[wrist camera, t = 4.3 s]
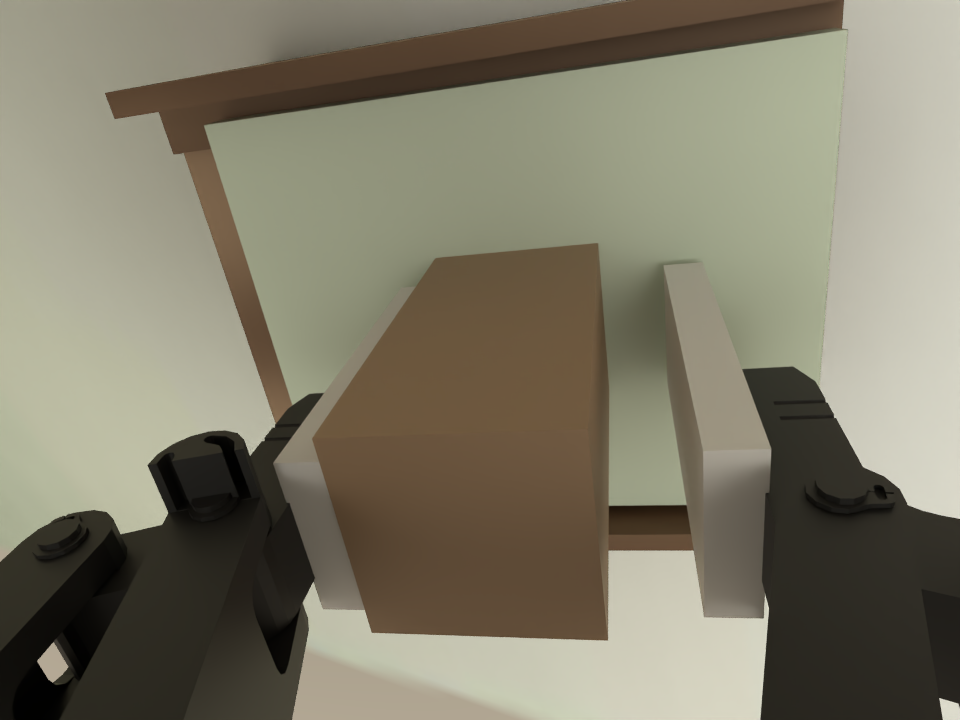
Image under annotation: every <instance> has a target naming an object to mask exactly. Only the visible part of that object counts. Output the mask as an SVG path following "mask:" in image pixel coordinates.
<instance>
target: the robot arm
mask: <svg viewBox="0 0 960 720" xmlns="http://www.w3.org/2000/svg"><path fill="white" fill-rule="evenodd" d="M663 266H664V296H665V327H666V358H667V384H668V390H669V396H670V403H671V409H672V415H673V422H674V428H675V434H676V441H677V447H678V453H679V460H680V466H681V472H682V479H683V485H684V491H685V498H686V504H687V510H688V517H689V523H690V529H691V536H692V542H693V548H694V555H695V561H696V567H697V574H698V580H699V586H700V593H701V599H702V605H703V612H704V617H722V618H764V598H765V595H766V598H767V602H768V606H769V617H768V630H767V643H766V656H765V669H764V682H763V694H762V707H761V720H943V719H942V713H941V707H940V701H939V698H942V699H945V700H948V701H952V702H955V703H959V707H960V519H957V518H951V517H946V516H941V515H937V514H933V513H929V512H925V511H921V510H919V509H916V508H913V507H911V506H908V505H907V502H906V500H905V499H904V497H903V495H902V493H901V491H900V489H899V488H898V487H896V486H895V485H894V484H893V483H891V482H890V481H889V480H888V479H886V478H885V477H884V476H882V475H879V474H877V473H875V472H872V471H870V470H868V469H865V468H863V466H862V465H861V463H860V461H859V459H858V457H857V456H856V454H855V452H854V450H853V448H852V447H851V445H850V443H849V441H848V439H847V437H846V436H845V434H844V432H843V430H842V428H841V427H840V425H839V423H838V421H837V419H836V418H834V414H833V412H832V410H831V408H830V407H829V405H828V403H826V402H825V398H824V396H823V394H822V392H821V390H820V389H819V387H818V385H817V383H816V381H814V380H813V379H811V378H810V377H808V376H807V375H805V374H804V373H802V372H801V371H799V370H798V369H796V368H795V367H793V366H790V367H771V368H752V369H742V368H741V365H740V362H739V360H738V357H737V354H736V352H735V349H734V346H733V343H732V341H731V338H730V335H729V333H728V330H727V327H726V324H725V322H724V319H723V316H722V314H721V311H720V308H719V305H718V303H717V300H716V297H715V295H714V292H713V289H712V286H711V284H710V281H709V278H708V276H707V273H706V270H705V267H704V265H703V262H697V263H685V264H673V265H663ZM415 287H416V286H415ZM415 287H404V288H400V290H399V291H398V293H397V294H396V295H395V297H394V298H393V299H392V301H391V302H390V304H389V305H388V306H387V308H386V309H385V310H384V312H383V313H382V315H381V316H380V317H379V319H378V320H377V321H376V323H375V324H374V325H373V327H372V328H371V330H370V331H369V332H368V334H367V335H366V336H365V338H364V339H363V341H362V342H361V343H360V345H359V346H358V347H357V349H356V350H355V352H354V353H353V354H352V356H351V357H350V358H349V360H348V361H347V363H346V364H345V365H344V367H343V368H342V369H341V371H340V372H339V373H338V375H337V376H336V378H335V379H334V380H333V382H332V383H331V384H330V386H329V387H328V389H327V390H326V391H325V393H312V394H308V395H307V396H305V397H304V398H302V399H301V400H299V401H298V402H297V403H295V404H294V405H292V406H291V407H289V408H288V409H287V410H286V412H285V413H284V414H283V415H282V417H281V418H280V419H279V420H278V422H277V423H276V424H275V428H272V429H271V431H270V432H269V433H268V434H267V436H266V437H265V441H262V442H261V443H260V444H259V446H258V447H257V448H256V449H255V451H254V452H253V453H252V455H251V456H250V455H249V453H248V450H247V447H246V444H245V441H244V439H243V438H242V437H241V436H240V435H239V434H238V433H234V432H229V431H212V432H206V433H202V434H198V435H194V436H191V437H188V438H186V439H184V440H181V441H179V442H177V443H175V444H173V445H171V446H169V447H168V448H166V449H165V450H163V451H162V452H160V453H159V454H157V456H156V457H155V458H154V459H153V460H152V461H151V462H150V463H149V464H148V467H149V469H150V472H151V474H152V476H153V479H154V481H155V483H156V485H157V488H158V490H159V492H160V494H161V497H162V499H163V501H164V503H165V506H166V508H167V510H168V515H167V517H166V519H165V521H164V523H163V525H160V526H156V527H151V528H147V529H143V530H138V531H134V532H130V533H125V534H120V532H119V530H118V528H117V526H116V524H115V522H114V520H113V518H112V517H111V516H110V515H109V514H108V513H107V512H102V511H96V510H91V511H84V512H77V513H72V514H68V515H67V516H62V517H60V518H57V519H55V520H53V521H52V522H51V523H49V524H48V525H46V526H44V527H42V528H40V529H38V530H37V531H36V532H34V533H33V534H32V535H30V536H29V537H28V538H26V539H25V540H24V541H22V542H21V543H20V544H19V545H18V546H17V547H16V548H15V549H14V550H13V551H12V552H11V553H9V554H8V555H7V556H6V557H5V558H4V559H3V560H2V561H1V562H0V720H292V715H293V711H294V706H295V700H296V694H297V690H298V684H299V679H300V673H301V668H302V663H303V658H304V652H305V647H306V642H307V636H308V631H309V627H308V617H307V614H306V612H305V609H304V606H303V601H304V599H305V597H306V595H307V593H308V591H309V589H310V587H311V585H312V583H313V581H314V584H315V587H316V590H317V593H318V596H319V599H320V602H321V605H322V608H323V609H347V610H365V609H364V605H363V602H362V599H361V596H360V593H359V589H358V586H357V583H356V580H355V576H354V573H353V570H352V567H351V563H350V560H349V557H348V554H347V550H346V547H345V544H344V541H343V538H342V534H341V531H340V528H339V525H338V521H337V518H336V515H335V512H334V508H333V505H332V502H331V499H330V496H329V492H328V489H327V486H326V483H325V479H324V476H323V473H322V470H321V466H320V463H319V460H318V457H317V453H316V450H315V447H314V444H313V441H312V438H313V436H314V435H315V433H316V432H317V430H318V429H319V427H320V426H321V425H322V423H323V422H324V420H325V419H326V417H327V416H328V414H329V413H330V411H331V410H332V408H333V407H334V406H335V404H336V403H337V401H338V400H339V398H340V397H341V395H342V394H343V392H344V391H345V389H346V388H347V387H348V385H349V384H350V382H351V381H352V379H353V378H354V376H355V375H356V373H357V372H358V370H359V369H360V368H361V366H362V365H363V363H364V362H365V360H366V359H367V357H368V356H369V354H370V353H371V351H372V350H373V348H374V347H375V346H376V344H377V343H378V341H379V340H380V338H381V337H382V335H383V334H384V332H385V331H386V329H387V328H388V327H389V325H390V324H391V322H392V321H393V319H394V318H395V316H396V315H397V313H398V312H399V310H400V309H401V308H402V306H403V305H404V303H405V302H406V300H407V299H408V297H409V296H410V294H411V293H412V291H413V290H414V289H415ZM53 642H54V643H55V645H56V646H57V648H58V650H59V651H60V653H61V655H62V656H63V658H64V660H65V661H66V663H67V665H68V666H69V667H68V669H67V670H66V671H65V672H64V674H63V675H62V676H61V677H59V678H58V679H57V680H56V681H55V682H53V683H52V682H51V681H50V680H48V679H47V677H46V675H45V674H44V672H43V670H42V669H41V668H40V666H39V664H38V662H37V660H38V659H39V658H40V657H41V656H42V654H43V653H44V652H45V651H46V650H47V649H48V648H49V646H50V645H51V644H52V643H53Z"/></svg>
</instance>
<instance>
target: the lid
mask: <svg viewBox="0 0 960 720" xmlns="http://www.w3.org/2000/svg"><path fill="white" fill-rule="evenodd" d="M847 35H848V29H840V28H830V29H824V30H817V31H810V32H804V33H797V34H790V35H784V36H777V37H770V38H764V39H757V40H750V41H744V42H737V43H730V44H724V45H717V46H710V47H703V48H697V49H690V50H683V51H677V52H670V53H663V54H657V55H650V56H643V57H637V58H630V59H623V60H617V61H610V62H603V63H597V64H590V65H583V66H577V67H570V68H563V69H557V70H550V71H543V72H536V73H530V74H523V75H516V76H510V77H503V78H496V79H490V80H483V81H476V82H470V83H463V84H456V85H450V86H443V87H436V88H430V89H423V90H416V91H410V92H403V93H396V94H390V95H383V96H376V97H370V98H363V99H356V100H349V101H343V102H336V103H329V104H323V105H316V106H309V107H303V108H296V109H289V110H283V111H276V112H269V113H263V114H256V115H249V116H243V117H236V118H229V119H223V120H219V121H216V122H213V123H210V124H206V125H204V127H205V130H206V134H207V137H208V140H209V143H210V146H211V149H212V153H213V156H214V159H215V162H216V165H217V168H218V172H219V175H220V178H221V181H222V184H223V187H224V191H225V194H226V197H227V200H228V203H229V206H230V210H231V213H232V216H233V219H234V222H235V225H236V229H237V232H238V235H239V238H240V241H241V244H242V247H243V251H244V254H245V257H246V260H247V263H248V266H249V270H250V273H251V276H252V279H253V282H254V285H255V289H256V292H257V295H258V298H259V301H260V304H261V308H262V311H263V314H264V317H265V320H266V323H267V327H268V330H269V333H270V336H271V339H272V342H273V346H274V349H275V352H276V355H277V358H278V361H279V365H280V368H281V371H282V374H283V377H284V380H285V383H286V387H287V390H288V393H289V396H290V399H291V402H292V405H294V404H295V403H297V402H298V401H299V400H301V399H302V398H304V397H305V396H307V395H308V394H312V393H325V391H326V390H327V389H328V387H329V386H330V384H331V383H332V382H333V380H334V379H335V378H336V376H337V375H338V373H339V372H340V371H341V369H342V368H343V367H344V365H345V364H346V363H347V361H348V360H349V358H350V357H351V356H352V354H353V353H354V352H355V350H356V349H357V347H358V346H359V345H360V343H361V342H362V341H363V339H364V338H365V336H366V335H367V334H368V332H369V331H370V330H371V328H372V327H373V325H374V324H375V323H376V321H377V320H378V319H379V317H380V316H381V315H382V313H383V312H384V310H385V309H386V308H387V306H388V305H389V304H390V302H391V301H392V299H393V298H394V297H395V295H396V294H397V293H398V291H399V290H400V288H404V287H415V286H416V287H415V289H414V290H413V291H412V293H411V294H410V296H409V297H408V299H407V300H406V302H405V303H404V305H403V306H402V308H401V309H400V310H399V312H398V313H397V315H396V316H395V318H394V319H393V321H392V322H391V324H390V325H389V327H388V328H387V329H386V331H385V332H384V334H383V335H382V337H381V338H380V340H379V341H378V343H377V344H376V346H375V347H374V348H373V350H372V351H371V353H370V354H369V356H368V357H367V359H366V360H365V362H364V363H363V365H362V366H361V368H360V369H359V370H358V372H357V373H356V375H355V376H354V378H353V379H352V381H351V382H350V384H349V385H348V387H347V388H346V389H345V391H344V392H343V394H342V395H341V397H340V398H339V400H338V401H337V403H336V404H335V406H334V407H333V408H332V410H331V411H330V413H329V414H328V416H327V417H326V419H325V420H324V422H323V423H322V425H321V426H320V427H319V429H318V430H317V432H316V433H315V435H314V436H313V438H312V441H313V444H314V447H315V450H316V453H317V457H318V460H319V463H320V466H321V470H322V473H323V476H324V479H325V483H326V486H327V489H328V492H329V496H330V499H331V502H332V505H333V508H334V512H335V515H336V518H337V521H338V525H339V528H340V531H341V534H342V538H343V541H344V544H345V547H346V550H347V554H348V557H349V560H350V563H351V567H352V570H353V573H354V576H355V580H356V583H357V586H358V589H359V593H360V596H361V599H362V602H363V605H364V609H365V612H366V615H367V618H368V622H369V625H370V628H371V631H372V633H398V634H428V635H458V636H488V637H518V638H548V639H578V640H608V537H609V506H634V505H687V504H686V498H685V491H684V485H683V479H682V472H681V466H680V460H679V453H678V447H677V441H676V434H675V428H674V422H673V415H672V409H671V403H670V396H669V390H668V384H667V358H666V327H665V296H664V266H663V265H673V264H685V263H697V262H703V265H704V267H705V270H706V273H707V276H708V278H709V281H710V284H711V286H712V289H713V292H714V295H715V297H716V300H717V303H718V305H719V308H720V311H721V314H722V316H723V319H724V322H725V324H726V327H727V330H728V333H729V335H730V338H731V341H732V343H733V346H734V349H735V352H736V354H737V357H738V360H739V362H740V365H741V368H742V369H752V368H771V367H790V366H793V367H795V368H796V369H798V370H799V371H801V372H802V373H804V374H805V375H807V376H808V377H810V378H811V379H813V380H814V381H816V383H817V385H818V387H819V385H820V372H821V360H822V347H823V335H824V322H825V310H826V297H827V285H828V272H829V260H830V247H831V235H832V222H833V210H834V197H835V185H836V172H837V160H838V147H839V135H840V122H841V110H842V97H843V85H844V73H845V60H846V48H847Z"/></svg>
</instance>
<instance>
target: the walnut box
mask: <svg viewBox="0 0 960 720" xmlns="http://www.w3.org/2000/svg"><path fill="white" fill-rule="evenodd" d="M843 6H844V0H626V1H621V2H615V3H609V4H603V5H598V6H592V7H586V8H581V9H575V10H569V11H563V12H558V13H552V14H546V15H541V16H535V17H529V18H523V19H518V20H512V21H506V22H501V23H495V24H489V25H483V26H478V27H472V28H466V29H461V30H455V31H449V32H443V33H438V34H432V35H426V36H420V37H415V38H409V39H403V40H398V41H392V42H386V43H380V44H375V45H369V46H363V47H358V48H352V49H346V50H340V51H335V52H329V53H323V54H318V55H312V56H306V57H300V58H295V59H289V60H283V61H278V62H272V63H266V64H261V65H255V66H250V67H244V68H239V69H234V70H228V71H223V72H217V73H212V74H206V75H201V76H195V77H190V78H184V79H179V80H173V81H168V82H162V83H157V84H152V85H146V86H141V87H135V88H130V89H124V90H119V91H113V92H108V93H105V94H106V97H107V100H108V102H109V105H110V108H111V110H112V113H113V116H114V118H115V119H118V118H124V117H130V116H136V115H142V114H148V113H154V112H159V114H160V117H161V120H162V123H163V125H164V128H165V131H166V134H167V137H168V140H169V143H170V146H171V148H172V151H173V154H180V153H184V155H185V158H186V161H187V164H188V167H189V170H190V173H191V176H192V179H193V181H194V184H195V187H196V190H197V193H198V196H199V199H200V202H201V205H202V208H203V211H204V214H205V217H206V220H207V223H208V226H209V229H210V231H211V234H212V237H213V240H214V243H215V246H216V249H217V252H218V255H219V258H220V261H221V264H222V267H223V270H224V273H225V276H226V279H227V281H228V284H229V287H230V290H231V293H232V296H233V299H234V302H235V305H236V308H237V311H238V314H239V317H240V320H241V323H242V326H243V328H244V331H245V334H246V337H247V340H248V343H249V346H250V349H251V352H252V355H253V358H254V361H255V364H256V367H257V370H258V373H259V376H260V378H261V381H262V384H263V387H264V390H265V393H266V396H267V399H268V402H269V405H270V408H271V411H272V414H273V417H274V420H275V423H277V422H278V420H279V419H280V418H281V417H282V415H283V414H284V413H285V412H286V410H287V409H288V408H289V407H291V406H292V402H291V399H290V396H289V393H288V390H287V387H286V383H285V380H284V377H283V374H282V371H281V368H280V365H279V361H278V358H277V355H276V352H275V349H274V346H273V342H272V339H271V336H270V333H269V330H268V327H267V323H266V320H265V317H264V314H263V311H262V308H261V304H260V301H259V298H258V295H257V292H256V289H255V285H254V282H253V279H252V276H251V273H250V270H249V266H248V263H247V260H246V257H245V254H244V251H243V247H242V244H241V241H240V238H239V235H238V232H237V229H236V225H235V222H234V219H233V216H232V213H231V210H230V206H229V203H228V200H227V197H226V194H225V191H224V187H223V184H222V181H221V178H220V175H219V172H218V168H217V165H216V162H215V159H214V156H213V153H212V149H211V146H210V143H209V140H208V137H207V134H206V130H205V127H204V125H206V124H210V123H213V122H216V121H219V120H223V119H229V118H236V117H243V116H249V115H256V114H263V113H269V112H276V111H283V110H289V109H296V108H303V107H309V106H316V105H323V104H329V103H336V102H343V101H349V100H356V99H363V98H370V97H376V96H383V95H390V94H396V93H403V92H410V91H416V90H423V89H430V88H436V87H443V86H450V85H456V84H463V83H470V82H476V81H483V80H490V79H496V78H503V77H510V76H516V75H523V74H530V73H536V72H543V71H550V70H557V69H563V68H570V67H577V66H583V65H590V64H597V63H603V62H610V61H617V60H623V59H630V58H637V57H643V56H650V55H657V54H663V53H670V52H677V51H683V50H690V49H697V48H703V47H710V46H717V45H724V44H730V43H737V42H744V41H750V40H757V39H764V38H770V37H777V36H784V35H790V34H797V33H804V32H810V31H817V30H824V29H830V28H840V29H842V20H843ZM608 550H694V548H693V542H692V536H691V529H690V523H689V517H688V510H687V505H634V506H609V537H608Z"/></svg>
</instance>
